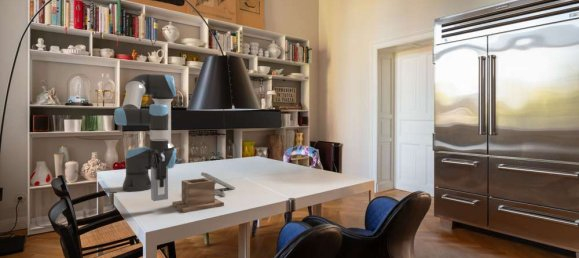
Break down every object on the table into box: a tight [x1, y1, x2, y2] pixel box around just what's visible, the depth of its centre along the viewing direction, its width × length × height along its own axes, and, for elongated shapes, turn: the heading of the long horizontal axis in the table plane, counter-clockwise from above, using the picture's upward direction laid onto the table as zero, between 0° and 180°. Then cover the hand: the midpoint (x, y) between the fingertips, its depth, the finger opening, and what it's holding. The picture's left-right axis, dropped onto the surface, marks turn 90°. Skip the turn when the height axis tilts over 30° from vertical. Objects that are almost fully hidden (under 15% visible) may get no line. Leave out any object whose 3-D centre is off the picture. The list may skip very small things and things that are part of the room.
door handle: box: [200, 171, 236, 198], centre depth 176 cm, size 18×8×20 cm
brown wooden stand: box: [172, 177, 225, 214], centre depth 151 cm, size 15×19×12 cm
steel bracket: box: [150, 167, 169, 202], centre depth 141 cm, size 4×6×14 cm, turn 127°
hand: (159, 193), depth 142 cm, fingers closed on steel bracket, 4 cm apart
